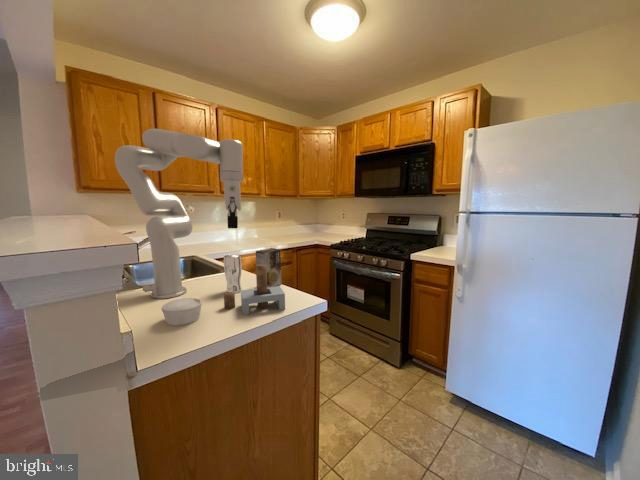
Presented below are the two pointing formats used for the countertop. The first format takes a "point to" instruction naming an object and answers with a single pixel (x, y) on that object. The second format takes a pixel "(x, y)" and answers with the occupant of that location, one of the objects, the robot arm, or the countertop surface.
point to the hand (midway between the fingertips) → (232, 226)
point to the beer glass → (233, 272)
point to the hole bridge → (262, 298)
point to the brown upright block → (229, 300)
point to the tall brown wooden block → (261, 283)
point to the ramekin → (182, 311)
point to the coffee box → (270, 265)
